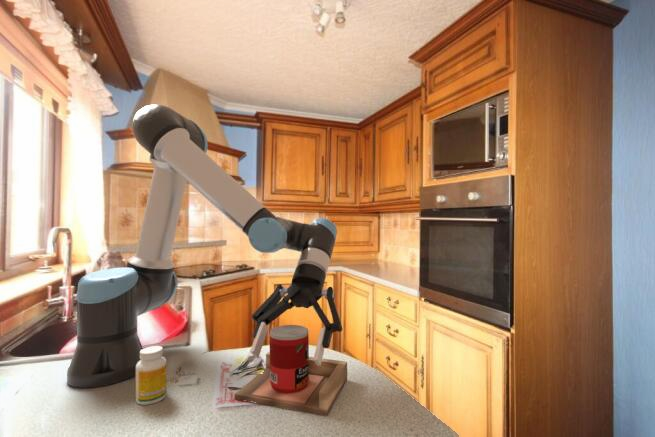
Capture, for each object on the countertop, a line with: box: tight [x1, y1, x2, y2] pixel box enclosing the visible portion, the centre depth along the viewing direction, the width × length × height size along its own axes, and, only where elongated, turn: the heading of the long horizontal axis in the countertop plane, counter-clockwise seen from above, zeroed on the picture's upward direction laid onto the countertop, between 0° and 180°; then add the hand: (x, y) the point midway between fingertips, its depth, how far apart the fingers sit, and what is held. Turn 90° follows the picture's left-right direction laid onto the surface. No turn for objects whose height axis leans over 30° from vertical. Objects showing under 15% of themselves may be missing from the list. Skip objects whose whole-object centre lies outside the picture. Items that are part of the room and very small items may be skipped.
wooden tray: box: [234, 351, 348, 417], centre depth 68 cm, size 19×14×4 cm
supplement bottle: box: [134, 345, 167, 406], centre depth 65 cm, size 5×5×10 cm
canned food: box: [269, 324, 310, 393], centre depth 67 cm, size 8×8×11 cm
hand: (284, 358), depth 65 cm, fingers open, 13 cm apart
